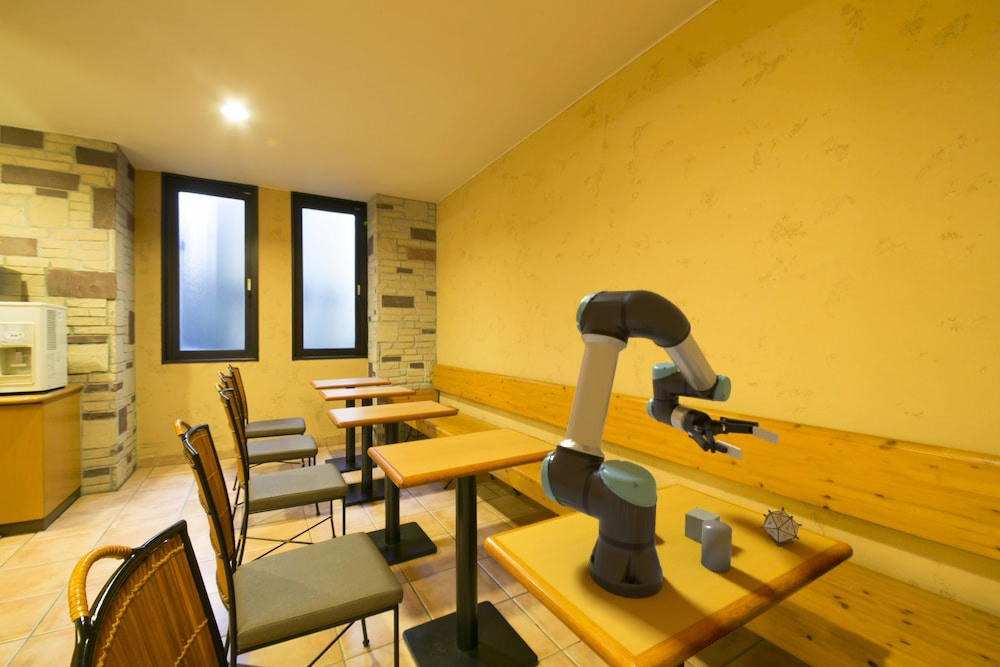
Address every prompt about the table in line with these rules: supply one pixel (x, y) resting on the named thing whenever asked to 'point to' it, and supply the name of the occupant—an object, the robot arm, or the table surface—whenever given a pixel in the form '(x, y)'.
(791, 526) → the game die
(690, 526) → the olive block
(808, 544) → the table surface
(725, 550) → the gray cylinder
